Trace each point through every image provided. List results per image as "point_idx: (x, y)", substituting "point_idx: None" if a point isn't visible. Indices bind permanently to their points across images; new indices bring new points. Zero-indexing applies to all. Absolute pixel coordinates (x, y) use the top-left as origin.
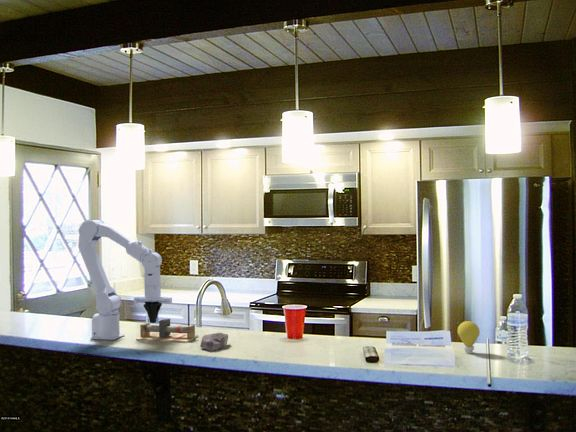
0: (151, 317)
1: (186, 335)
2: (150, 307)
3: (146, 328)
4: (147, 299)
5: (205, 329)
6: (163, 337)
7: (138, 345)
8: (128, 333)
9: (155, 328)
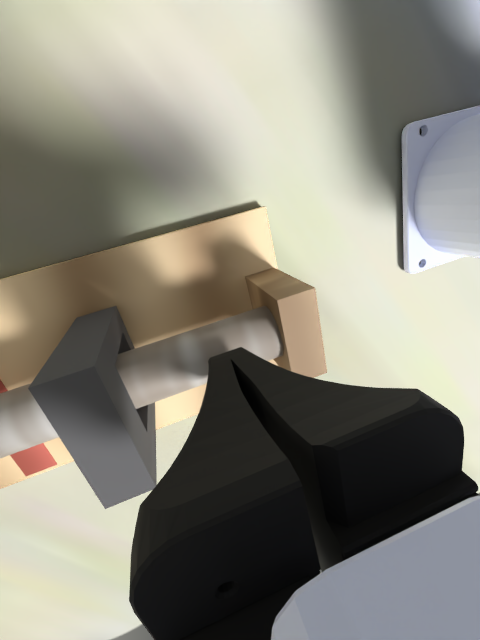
0: (232, 372)
1: (15, 461)
2: (264, 442)
3: (259, 311)
4: (462, 628)
5: (113, 606)
6: (79, 317)
7: (92, 41)
8: (417, 332)
9: (178, 341)
